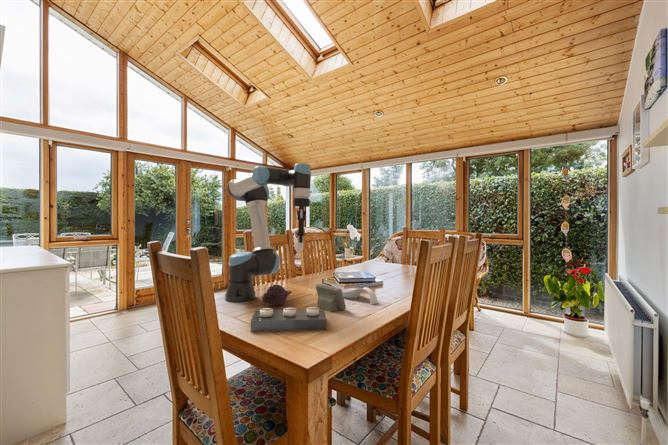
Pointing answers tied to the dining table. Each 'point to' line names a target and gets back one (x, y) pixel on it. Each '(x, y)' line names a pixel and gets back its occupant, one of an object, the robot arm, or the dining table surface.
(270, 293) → the pine cone
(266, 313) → the left knob
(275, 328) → the knob plate
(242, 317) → the dining table surface
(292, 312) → the middle knob
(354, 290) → the grey curved piece
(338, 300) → the digital clock
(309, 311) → the right knob
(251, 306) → the dining table surface
